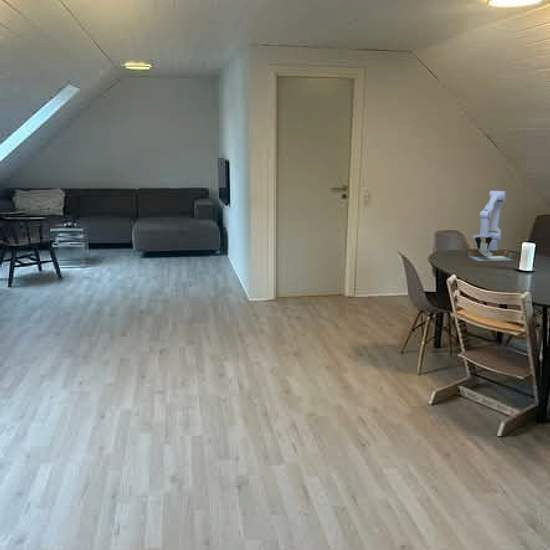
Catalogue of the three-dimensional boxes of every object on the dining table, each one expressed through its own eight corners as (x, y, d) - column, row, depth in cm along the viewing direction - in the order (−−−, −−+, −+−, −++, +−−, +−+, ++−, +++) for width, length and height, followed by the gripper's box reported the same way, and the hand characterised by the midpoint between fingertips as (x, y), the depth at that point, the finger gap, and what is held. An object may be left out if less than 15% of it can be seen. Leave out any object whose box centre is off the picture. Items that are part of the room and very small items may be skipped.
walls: (467, 256, 385) (467, 250, 384) (503, 255, 388) (503, 250, 387) (477, 261, 370) (478, 255, 369) (515, 260, 372) (516, 254, 372)
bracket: (478, 251, 379) (479, 242, 377) (485, 251, 380) (486, 242, 377) (484, 256, 370) (486, 247, 368) (492, 255, 370) (493, 247, 368)
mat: (467, 256, 385) (467, 255, 385) (503, 255, 388) (503, 255, 388) (477, 261, 370) (477, 260, 370) (515, 260, 372) (515, 259, 372)
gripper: (476, 229, 370) (474, 250, 373) (497, 229, 371) (495, 249, 375) (471, 228, 377) (470, 247, 380) (492, 227, 378) (490, 247, 382)
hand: (482, 248), depth 378 cm, fingers closed on bracket, 5 cm apart
